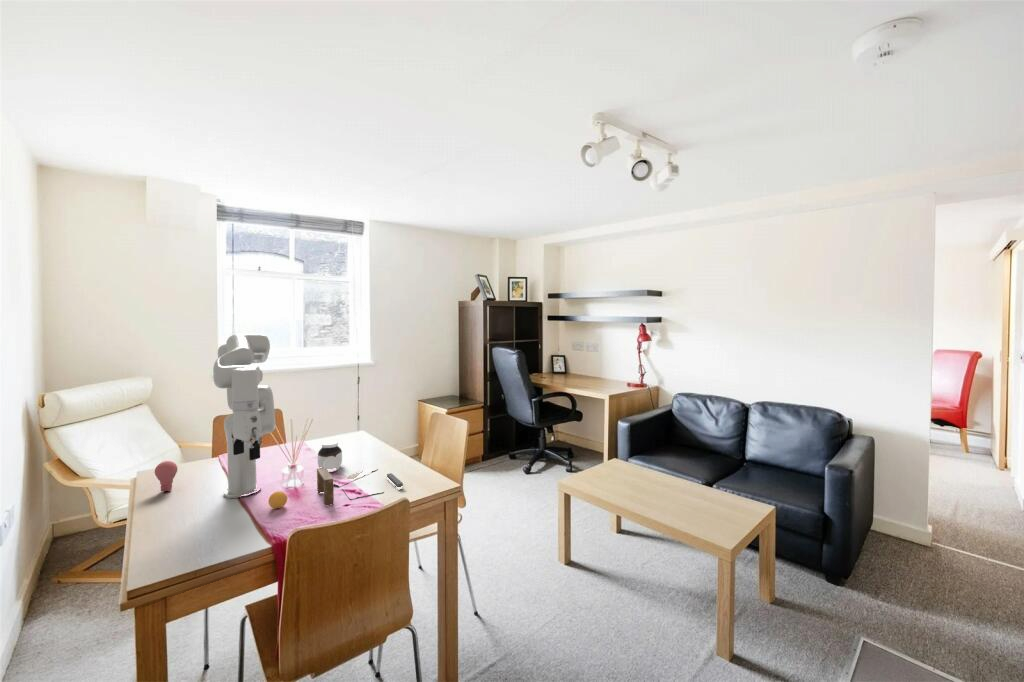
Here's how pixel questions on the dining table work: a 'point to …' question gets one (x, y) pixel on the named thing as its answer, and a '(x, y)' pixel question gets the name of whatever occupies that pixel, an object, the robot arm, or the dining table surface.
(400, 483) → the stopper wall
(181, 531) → the dining table surface
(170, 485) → the light bulb
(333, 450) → the spread jar
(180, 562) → the dining table surface
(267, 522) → the dining table surface
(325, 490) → the bridge
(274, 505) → the ball
